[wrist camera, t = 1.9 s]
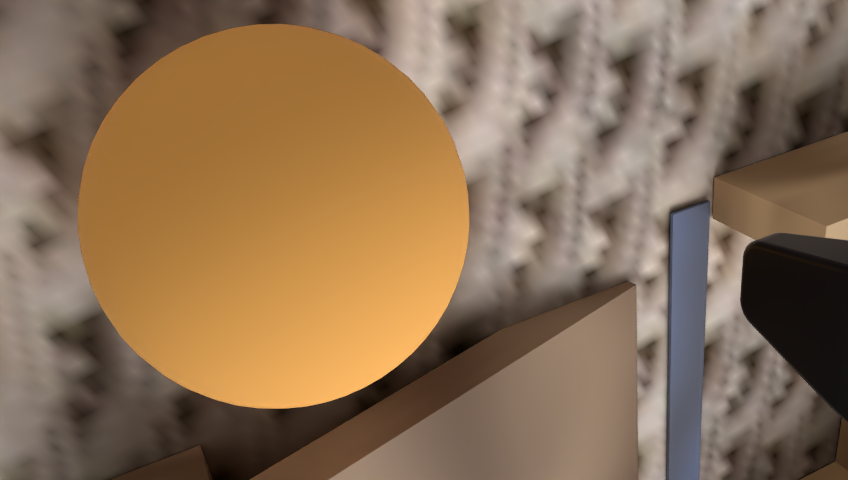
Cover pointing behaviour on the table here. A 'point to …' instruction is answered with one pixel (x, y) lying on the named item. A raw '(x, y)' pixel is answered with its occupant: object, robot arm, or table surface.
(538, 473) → the ramp
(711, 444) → the table surface
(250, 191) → the ball
